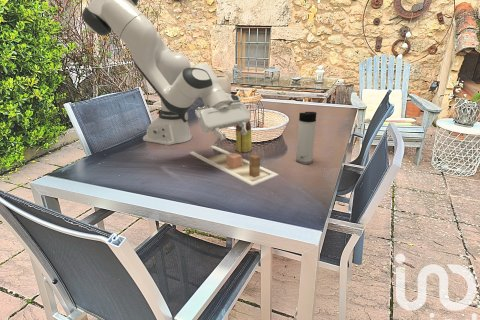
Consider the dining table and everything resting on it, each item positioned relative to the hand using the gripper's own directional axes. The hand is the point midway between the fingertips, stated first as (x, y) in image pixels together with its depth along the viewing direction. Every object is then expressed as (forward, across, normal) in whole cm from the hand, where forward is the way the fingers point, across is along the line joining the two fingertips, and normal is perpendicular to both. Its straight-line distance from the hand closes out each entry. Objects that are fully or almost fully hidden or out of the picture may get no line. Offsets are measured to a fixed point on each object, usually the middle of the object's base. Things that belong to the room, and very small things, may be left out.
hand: (234, 136), depth 113 cm
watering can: (-54, +57, +73) cm, 107 cm away
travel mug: (+17, +27, +2) cm, 31 cm away
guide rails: (+7, +1, +12) cm, 14 cm away
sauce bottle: (+1, +14, +18) cm, 23 cm away
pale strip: (+9, +1, +10) cm, 13 cm away
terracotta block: (+7, +1, +9) cm, 12 cm away
